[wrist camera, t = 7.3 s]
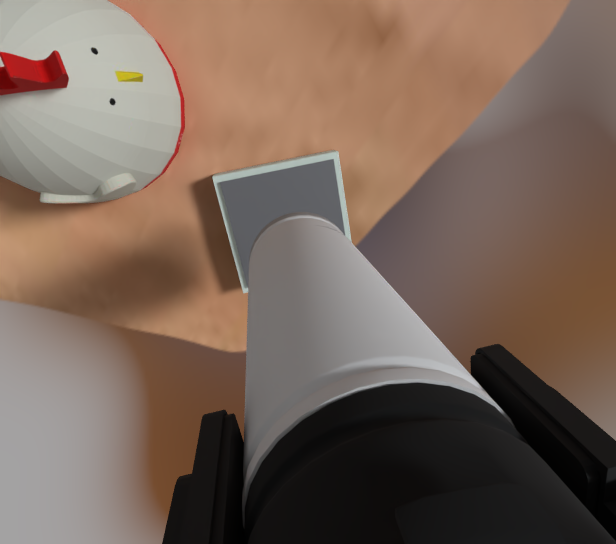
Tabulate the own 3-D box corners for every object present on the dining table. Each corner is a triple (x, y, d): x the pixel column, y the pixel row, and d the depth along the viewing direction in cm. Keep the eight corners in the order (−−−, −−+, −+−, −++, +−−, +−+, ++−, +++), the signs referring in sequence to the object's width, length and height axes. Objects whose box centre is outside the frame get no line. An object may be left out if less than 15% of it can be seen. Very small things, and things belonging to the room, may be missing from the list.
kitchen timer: (206, 177, 32) (169, 212, 18) (38, 214, 31) (-141, 282, 17) (148, -23, 27) (31, -197, 13) (-55, 15, 26) (-418, -124, 12)
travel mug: (347, 200, 23) (761, 494, 4) (350, 300, 25) (627, 775, 7) (242, 210, 22) (187, 607, 4) (255, 312, 25) (263, 874, 6)
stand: (214, 173, 31) (211, 177, 29) (332, 150, 32) (338, 151, 30) (243, 283, 35) (243, 294, 33) (349, 260, 36) (356, 269, 33)
